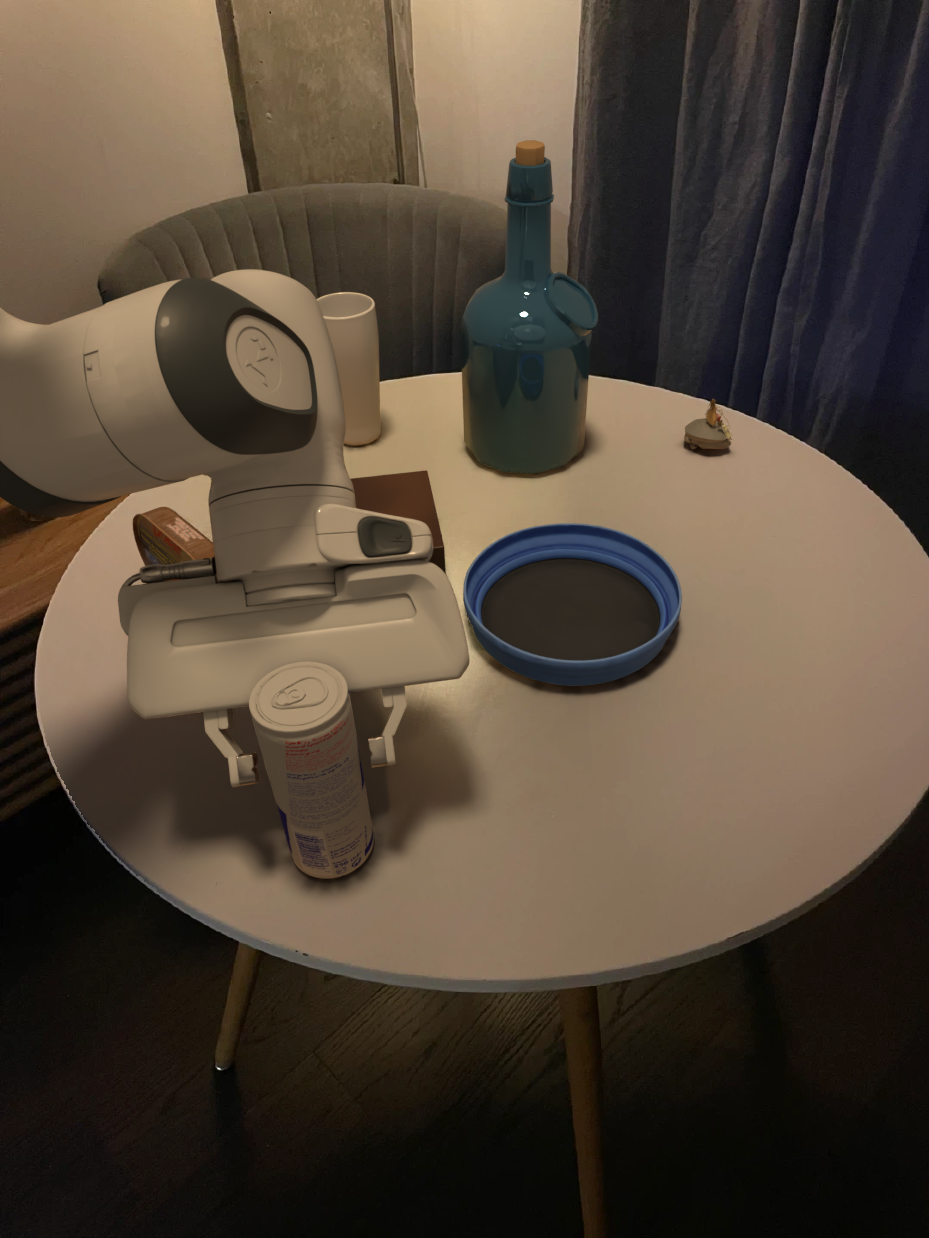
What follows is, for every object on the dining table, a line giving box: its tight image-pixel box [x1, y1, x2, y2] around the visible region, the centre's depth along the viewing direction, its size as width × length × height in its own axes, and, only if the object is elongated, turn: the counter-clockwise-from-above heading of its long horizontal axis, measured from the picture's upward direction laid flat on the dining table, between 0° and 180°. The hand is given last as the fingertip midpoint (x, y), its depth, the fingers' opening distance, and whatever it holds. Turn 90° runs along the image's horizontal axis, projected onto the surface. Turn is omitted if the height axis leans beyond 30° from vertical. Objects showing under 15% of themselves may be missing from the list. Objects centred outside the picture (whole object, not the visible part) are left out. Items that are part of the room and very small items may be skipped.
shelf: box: [350, 469, 447, 575], centre depth 80 cm, size 16×12×6 cm
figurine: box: [683, 398, 734, 450], centre depth 94 cm, size 5×4×6 cm
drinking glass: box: [316, 291, 382, 446], centre depth 95 cm, size 7×7×15 cm
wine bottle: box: [459, 139, 599, 475], centre depth 87 cm, size 14×13×30 cm
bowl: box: [462, 522, 683, 687], centre depth 75 cm, size 18×18×4 cm
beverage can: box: [248, 662, 375, 879], centre depth 55 cm, size 6×6×15 cm
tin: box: [132, 506, 219, 584], centre depth 76 cm, size 15×3×8 cm, turn 42°
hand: (315, 775), depth 54 cm, fingers open, 7 cm apart
